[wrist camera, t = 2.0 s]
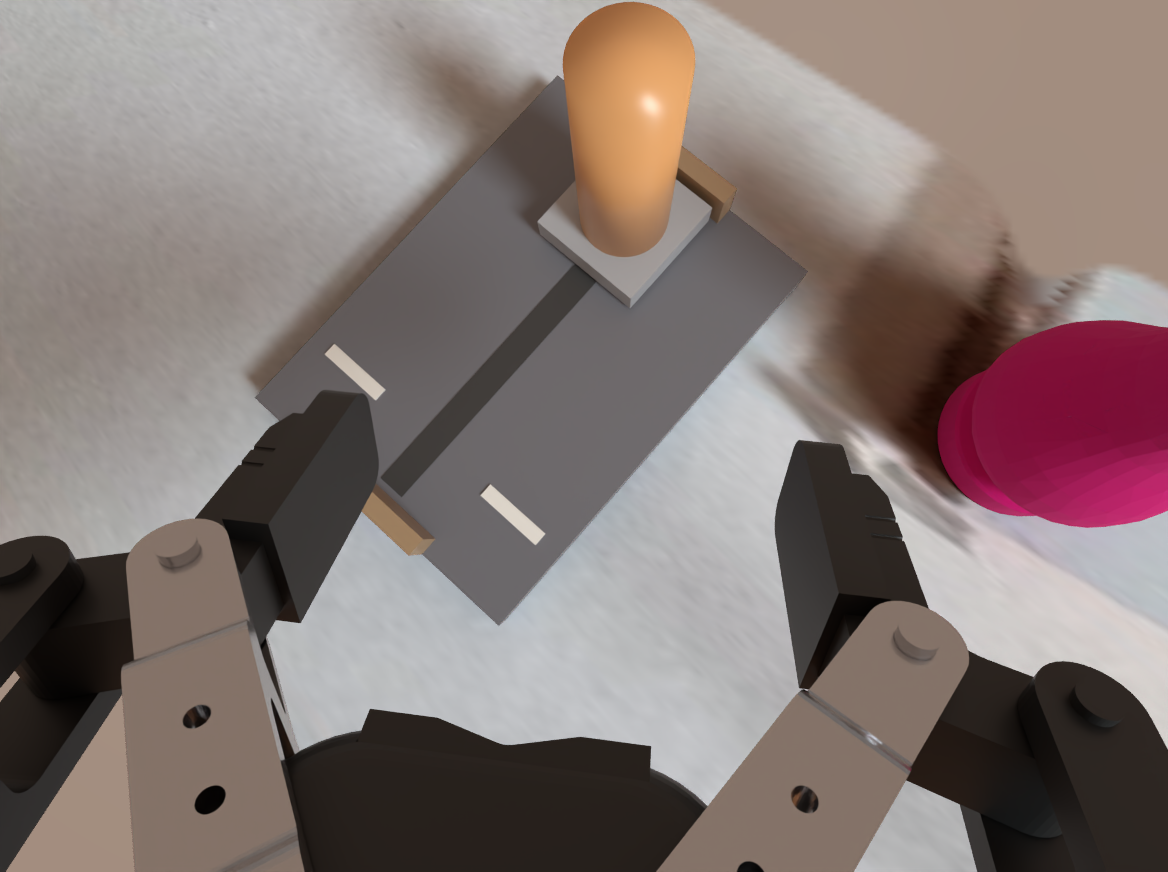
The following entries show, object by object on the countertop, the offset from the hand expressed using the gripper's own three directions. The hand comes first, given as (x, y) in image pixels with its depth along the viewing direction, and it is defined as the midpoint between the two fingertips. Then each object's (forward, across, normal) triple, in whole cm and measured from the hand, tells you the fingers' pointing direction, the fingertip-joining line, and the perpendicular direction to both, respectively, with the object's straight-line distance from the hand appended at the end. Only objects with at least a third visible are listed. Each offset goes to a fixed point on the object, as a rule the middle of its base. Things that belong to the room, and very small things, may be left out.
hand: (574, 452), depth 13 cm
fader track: (+16, +4, +7) cm, 18 cm away
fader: (+18, 0, +2) cm, 18 cm away
